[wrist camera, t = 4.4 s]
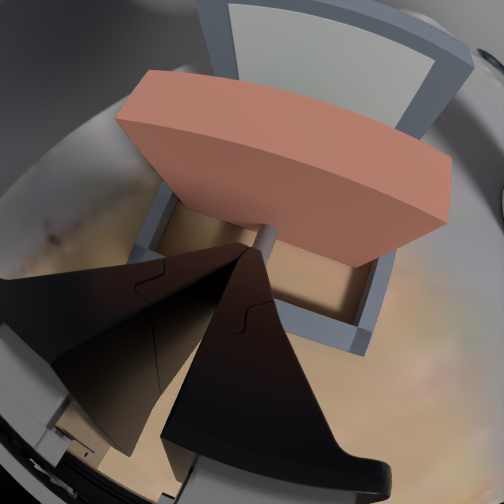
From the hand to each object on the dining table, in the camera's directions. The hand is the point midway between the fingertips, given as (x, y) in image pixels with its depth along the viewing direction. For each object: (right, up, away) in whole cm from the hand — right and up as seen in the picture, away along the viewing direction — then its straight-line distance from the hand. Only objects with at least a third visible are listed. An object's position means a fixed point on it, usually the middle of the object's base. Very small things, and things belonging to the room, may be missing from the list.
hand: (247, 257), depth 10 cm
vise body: (+3, +5, +8) cm, 10 cm away
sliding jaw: (+1, -1, +7) cm, 7 cm away
